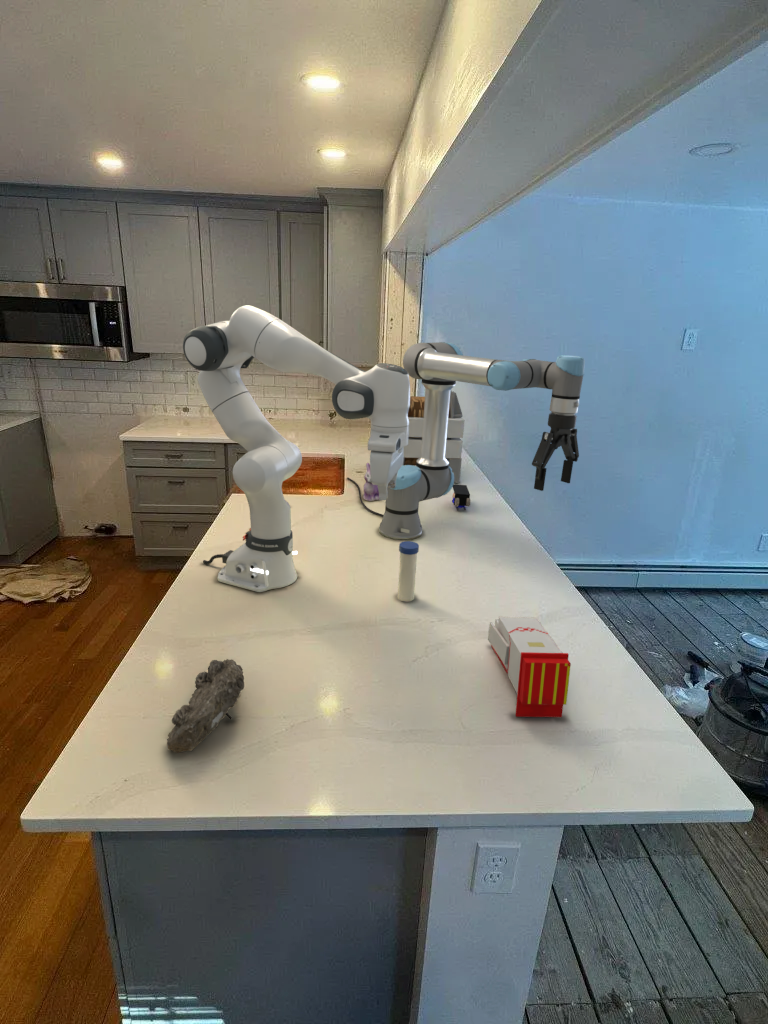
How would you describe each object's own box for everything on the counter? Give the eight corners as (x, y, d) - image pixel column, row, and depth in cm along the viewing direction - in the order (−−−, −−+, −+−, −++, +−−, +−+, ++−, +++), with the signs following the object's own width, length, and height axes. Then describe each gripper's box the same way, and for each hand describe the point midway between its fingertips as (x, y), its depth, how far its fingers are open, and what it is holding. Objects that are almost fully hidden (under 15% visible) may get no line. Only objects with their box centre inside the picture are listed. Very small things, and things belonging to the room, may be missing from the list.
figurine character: (470, 515, 225) (465, 499, 238) (472, 498, 221) (467, 483, 235) (453, 515, 224) (449, 499, 238) (455, 497, 221) (451, 482, 234)
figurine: (367, 502, 230) (368, 467, 225) (357, 495, 238) (358, 460, 233) (388, 500, 234) (389, 465, 229) (377, 492, 242) (378, 458, 237)
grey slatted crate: (382, 463, 289) (386, 382, 275) (445, 464, 293) (451, 384, 279) (390, 482, 257) (394, 392, 243) (460, 483, 261) (468, 394, 247)
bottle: (398, 601, 154) (401, 550, 149) (396, 593, 158) (399, 543, 153) (415, 601, 154) (418, 549, 149) (412, 593, 159) (415, 543, 153)
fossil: (192, 660, 117) (244, 628, 112) (224, 691, 120) (276, 661, 115) (142, 746, 98) (202, 712, 93) (182, 779, 101) (242, 748, 96)
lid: (400, 554, 149) (400, 548, 148) (397, 546, 153) (398, 541, 153) (420, 554, 149) (420, 548, 149) (416, 546, 154) (417, 541, 154)
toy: (534, 602, 136) (579, 659, 107) (529, 653, 139) (572, 723, 110) (484, 601, 136) (516, 658, 107) (480, 652, 139) (510, 722, 109)
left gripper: (385, 427, 141) (384, 480, 146) (365, 444, 123) (364, 505, 127) (410, 429, 140) (408, 482, 145) (394, 446, 121) (391, 507, 126)
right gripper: (548, 419, 148) (537, 496, 155) (598, 411, 163) (586, 482, 171) (525, 414, 153) (515, 489, 160) (575, 407, 169) (564, 476, 176)
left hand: (387, 493), depth 136 cm, fingers open, 8 cm apart
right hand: (552, 485), depth 166 cm, fingers open, 13 cm apart
